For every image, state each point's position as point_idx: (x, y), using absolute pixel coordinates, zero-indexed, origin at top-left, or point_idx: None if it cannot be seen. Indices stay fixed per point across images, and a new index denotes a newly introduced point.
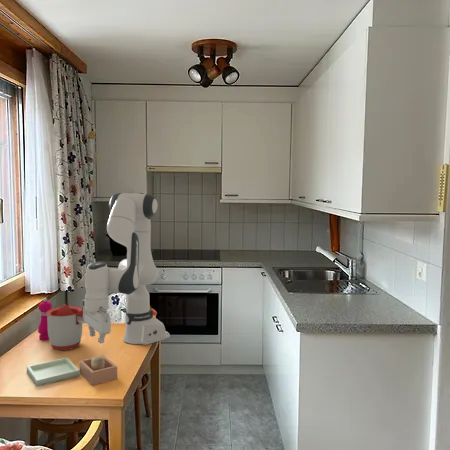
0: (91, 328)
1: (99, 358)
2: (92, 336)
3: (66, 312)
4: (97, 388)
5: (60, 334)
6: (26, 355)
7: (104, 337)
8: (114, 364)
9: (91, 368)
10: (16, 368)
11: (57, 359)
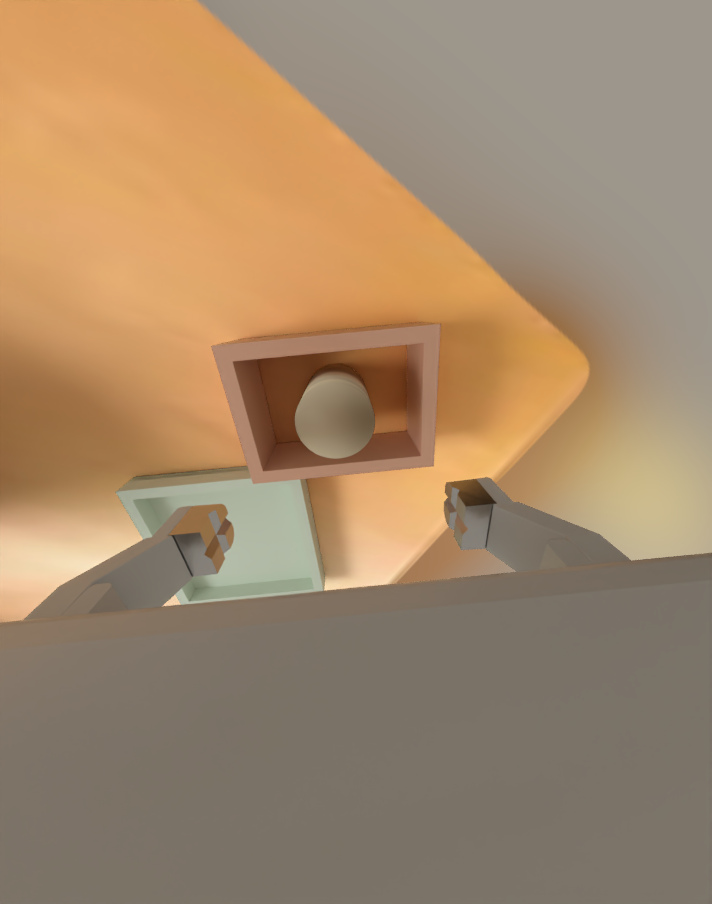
0: (143, 594)
1: (337, 414)
2: (230, 523)
3: None
4: (454, 428)
5: None
6: (18, 581)
7: (533, 510)
8: (402, 330)
9: (265, 411)
10: None
11: (136, 526)
